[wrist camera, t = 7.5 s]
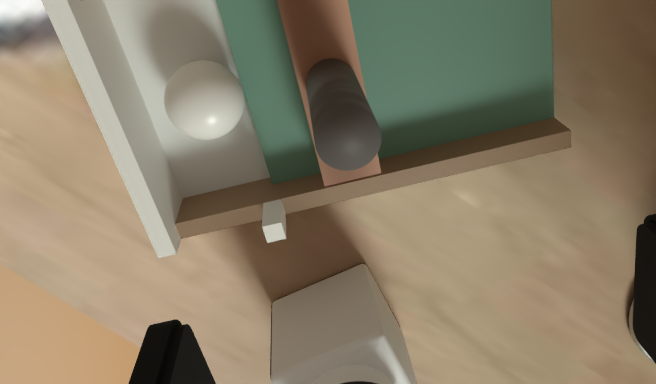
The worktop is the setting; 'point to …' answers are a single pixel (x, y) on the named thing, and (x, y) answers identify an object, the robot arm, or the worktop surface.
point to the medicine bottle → (338, 335)
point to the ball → (204, 100)
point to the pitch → (287, 105)
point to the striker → (332, 88)
